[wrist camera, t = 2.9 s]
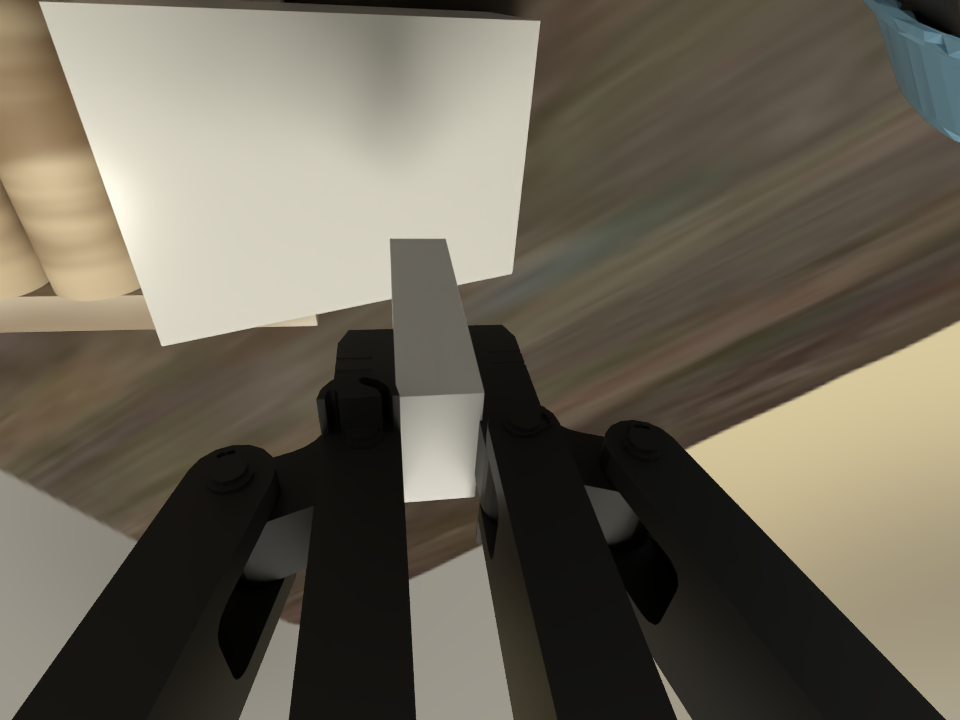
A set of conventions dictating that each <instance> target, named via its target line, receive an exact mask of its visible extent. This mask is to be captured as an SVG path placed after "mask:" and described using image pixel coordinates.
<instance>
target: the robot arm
mask: <svg viewBox="0 0 960 720" xmlns="http://www.w3.org/2000/svg"><path fill="white" fill-rule="evenodd" d="M864 2H865V3H866V5H867V6H868V7H870V8H871V9H872V10H873V11H874V12H875V14H876V17H877V21H878V24H879V27H880V30H881V33H882V36H883V39H884V43H885V46H886V49H887V52H888V55H889V58H890V61H891V65H892V68H893V71H894V74H895V77H896V80H897V83H898V85H899V87H900V89H901V91H902V93H903V95H904V96H905V98H906V99H907V101H908V102H909V103H910V105H911V106H912V107H913V108H914V110H915V111H916V112H917V113H918V114H919V115H920V116H921V117H922V118H923V119H924V120H925V121H926V122H928V123H929V124H930V125H932V126H933V127H934V128H936V129H937V130H938V131H939V132H941V133H943V134H944V135H946V136H948V137H949V138H951V139H953V140H955V141H958V142H960V0H864ZM390 260H391V290H392V319H393V329H377V330H349V331H348V332H347V333H346V334H345V336H344V337H343V338H342V339H341V340H340V342H339V343H338V348H337V357H336V366H335V376H334V380H332V381H330V382H329V383H328V384H327V385H325V386H324V387H323V388H322V389H321V390H320V392H319V395H318V397H317V399H316V400H317V407H318V414H319V421H320V427H321V434H322V435H321V436H320V437H318V438H317V439H316V440H315V441H314V442H312V443H310V444H309V445H307V446H306V447H304V448H301V449H298V450H296V451H293V452H290V453H287V454H283V455H280V456H277V457H274V458H273V457H272V456H271V455H270V454H269V453H267V452H266V451H265V450H264V449H262V448H259V447H255V446H252V445H232V446H228V447H225V448H221V449H218V450H215V451H213V452H211V453H210V454H208V455H206V456H204V457H202V458H201V459H199V460H198V461H197V462H196V463H195V464H194V465H193V466H192V467H191V468H190V469H189V470H188V472H187V473H186V475H185V476H184V477H183V479H182V480H181V482H180V483H179V484H178V486H177V487H176V489H175V490H174V492H173V493H172V494H171V496H170V497H169V499H168V500H167V501H166V503H165V504H164V506H163V507H162V508H161V510H160V511H159V513H158V514H157V516H156V517H155V518H154V520H153V521H152V523H151V524H150V525H149V527H148V528H147V530H146V531H145V532H144V534H143V535H142V537H141V538H140V540H139V541H138V542H137V544H136V545H135V547H134V548H133V550H132V551H131V552H130V554H129V555H128V557H127V558H126V559H125V561H124V562H123V564H122V565H121V566H120V568H119V569H118V571H117V572H116V573H115V575H114V576H113V578H112V579H111V580H110V582H109V584H108V585H107V586H106V587H105V589H104V590H103V592H102V593H101V595H100V596H99V597H98V599H97V600H96V602H95V603H94V604H93V606H92V607H91V609H90V610H89V611H88V613H87V615H86V616H85V617H84V619H83V620H82V621H81V623H80V624H79V626H78V627H77V628H76V630H75V631H74V633H73V634H72V635H71V637H70V638H69V640H68V641H67V643H66V644H65V646H64V647H63V648H62V650H61V651H60V653H59V654H58V655H57V657H56V658H55V660H54V661H53V662H52V664H51V665H50V667H49V668H48V669H47V671H46V672H45V674H44V675H43V676H42V678H41V679H40V681H39V682H38V684H37V685H36V686H35V688H34V689H33V691H32V692H31V693H30V695H29V696H28V698H27V699H26V700H25V702H24V703H23V705H22V706H21V707H20V709H19V710H18V712H17V713H16V714H15V716H14V717H13V719H12V720H239V717H240V715H241V712H242V710H243V707H244V705H245V702H246V700H247V697H248V695H249V692H250V690H251V688H252V685H253V683H254V680H255V677H256V675H257V672H258V670H259V668H260V665H261V663H262V660H263V658H264V655H265V652H266V650H267V647H268V645H269V643H270V640H271V638H272V635H273V633H274V630H275V628H276V625H277V623H278V620H279V618H280V615H281V613H282V610H283V608H284V605H285V603H286V600H287V598H288V595H289V593H290V590H291V588H292V585H293V583H294V580H295V578H296V573H297V572H299V571H302V570H304V569H306V577H305V586H304V594H303V603H302V612H301V620H300V629H299V638H298V646H297V654H296V664H295V671H294V680H293V689H292V697H291V706H290V714H289V720H416V709H415V692H414V672H413V653H412V635H411V616H410V597H409V577H408V558H407V540H406V521H405V502H416V501H429V500H441V499H454V498H466V497H475V488H476V484H477V489H478V494H479V500H480V502H479V512H478V521H477V531H476V544H481V540H482V544H483V550H484V556H485V561H486V567H487V572H488V578H489V584H490V589H491V595H492V600H493V606H494V611H495V617H496V623H497V628H498V634H499V640H500V645H501V651H502V656H503V662H504V668H505V673H506V679H507V684H508V690H509V696H510V701H511V706H512V712H513V718H514V720H677V718H676V715H675V713H674V710H673V708H672V705H671V703H670V700H669V698H668V695H667V693H666V690H665V688H664V685H663V683H662V680H661V678H660V675H659V673H658V670H657V668H656V665H655V662H656V663H657V665H658V666H659V668H660V669H661V671H662V673H663V674H664V676H665V677H666V679H667V680H668V682H669V684H670V685H671V687H672V688H673V690H674V691H675V693H676V695H677V696H678V698H679V699H680V701H681V702H682V704H683V705H684V707H685V709H686V710H687V712H688V714H689V715H690V717H691V718H692V720H946V719H945V718H944V717H943V716H942V715H941V714H940V713H939V712H938V711H937V710H936V709H935V708H934V707H933V706H932V705H931V704H930V703H929V702H928V701H927V700H926V699H925V698H924V697H923V696H922V695H921V694H920V692H919V691H918V690H917V689H916V688H915V687H913V685H912V684H911V683H910V682H909V681H908V680H907V679H906V678H905V677H904V676H903V675H902V674H901V673H900V672H899V671H898V670H897V669H896V668H895V667H894V666H893V665H892V664H891V663H890V661H888V659H887V658H886V657H885V656H883V654H882V653H881V652H880V651H879V650H878V649H877V648H876V647H875V646H874V645H873V644H872V643H871V642H870V641H869V640H868V639H867V638H866V637H865V636H864V635H863V634H862V633H861V632H860V631H859V630H858V628H857V627H856V626H855V625H854V624H853V623H852V622H851V621H850V620H849V619H848V618H847V617H846V616H845V615H844V614H843V613H842V612H841V611H840V610H839V609H838V608H837V607H836V606H835V605H834V604H833V603H832V602H831V601H830V600H829V599H828V598H827V596H826V595H825V594H824V593H823V592H822V591H821V590H820V589H819V588H818V587H817V586H816V585H815V584H814V583H813V582H812V581H811V580H810V579H809V578H808V577H807V576H806V575H805V574H804V573H803V572H802V571H801V570H800V569H799V568H798V567H797V565H796V564H795V563H794V562H793V561H792V560H791V559H790V558H789V557H788V556H787V555H786V554H785V553H784V552H783V551H782V550H781V549H780V548H779V547H778V546H777V545H776V544H775V543H774V542H773V541H772V540H771V539H770V538H769V536H767V534H766V533H765V532H763V530H762V529H761V528H760V527H759V526H758V525H757V524H756V523H755V522H754V521H753V520H752V519H751V518H750V517H749V516H748V515H747V514H746V513H745V512H744V511H743V510H742V509H741V508H740V507H739V505H738V504H736V503H735V501H734V500H733V499H732V498H731V497H730V496H729V495H728V494H727V493H726V492H725V491H724V490H723V489H722V488H721V487H720V486H719V485H718V484H717V483H716V482H715V481H714V480H713V479H712V478H711V477H710V476H709V474H708V473H706V472H705V470H704V469H703V468H702V467H701V466H700V465H699V464H698V463H697V462H696V461H695V460H694V459H693V458H692V457H691V456H690V455H689V454H688V453H687V452H686V451H685V450H684V449H683V448H682V447H681V446H680V445H679V444H678V442H677V441H676V440H675V439H674V438H673V437H671V436H670V435H669V434H668V433H666V432H665V431H664V430H662V429H661V428H659V427H657V426H654V425H652V424H650V423H647V422H642V421H636V420H629V421H620V422H618V423H616V424H614V425H612V426H610V428H609V429H608V431H607V432H606V434H605V437H603V436H597V435H592V434H586V433H581V432H577V431H573V430H569V429H567V428H565V427H563V426H560V423H559V421H558V420H557V418H556V417H555V416H554V414H553V413H552V412H550V411H549V410H547V409H546V408H545V407H543V406H541V405H540V402H539V400H538V397H537V394H536V392H535V389H534V386H533V384H532V381H531V378H530V376H529V373H528V370H527V368H526V365H524V360H523V357H522V354H521V353H520V349H519V346H518V344H517V341H516V338H515V336H514V335H513V334H511V333H510V332H509V331H508V330H507V329H506V328H505V327H504V326H503V325H475V326H468V325H467V321H466V317H465V313H464V309H463V305H462V301H461V297H460V293H459V289H458V285H457V281H456V278H455V274H454V270H453V266H452V262H451V258H450V254H449V250H448V246H447V242H446V239H390ZM653 658H654V660H655V662H654V660H653Z"/></svg>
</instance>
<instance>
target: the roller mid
mask: <svg viewBox="0 0 960 720" xmlns="http://www.w3.org/2000/svg"><path fill="white" fill-rule="evenodd" d="M39 1H40V0H0V179H1V181H2V183H3V185H4V188H5V190H6V192H7V194H8V196H9V198H10V200H11V202H12V204H13V206H14V209H15V211H16V213H17V215H18V217H19V219H20V221H21V223H22V225H23V227H24V229H25V232H26V234H27V236H28V238H29V240H30V242H31V244H32V246H33V248H34V250H35V252H36V255H37V257H38V259H39V261H40V263H41V265H42V267H43V269H44V271H45V273H46V275H47V278H48V280H49V282H50V284H51V286H52V288H53V290H54V292H55V294H56V295H58V296H59V297H61V298H64V299H67V300H73V301H96V300H104V299H109V298H114V297H118V296H121V295H125V294H128V293H130V292H133V291H135V290H137V289H139V288H141V286H140V284H139V281H138V278H137V275H136V272H135V270H134V267H133V264H132V261H131V258H130V256H129V253H128V250H127V247H126V244H125V242H124V239H123V236H122V233H121V230H120V228H119V225H118V222H117V219H116V216H115V214H114V211H113V208H112V205H111V202H110V200H109V197H108V194H107V191H106V188H105V186H104V183H103V180H102V177H101V174H100V172H99V169H98V166H97V163H96V160H95V158H94V155H93V152H92V149H91V146H90V144H89V141H88V138H87V135H86V132H85V130H84V127H83V124H82V121H81V118H80V116H79V113H78V110H77V107H76V104H75V102H74V99H73V96H72V93H71V90H70V88H69V85H68V82H67V79H66V76H65V74H64V71H63V68H62V65H61V62H60V60H59V57H58V54H57V51H56V48H55V46H54V43H53V40H52V37H51V34H50V32H49V29H48V26H47V23H46V20H45V18H44V15H43V12H42V9H41V6H40V4H39Z"/></svg>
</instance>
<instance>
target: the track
mask: <svg viewBox="0 0 960 720" xmlns="http://www.w3.org/2000/svg"><path fill="white" fill-rule="evenodd" d="M237 1H259V2H281V3H284V0H237ZM318 319H319V314H316V315H311V316H306V317H301V318H297V319H292V320H287V321H282V322H277V323H272V324H268V325H263V326H258V327H279V326H317V324H318ZM138 329H156V328H155V326H154V323H153V320H152V317H151V314H150V312H149V309H148V306H147V303H146V300H145V298H144V295H143V292H142V289H141V288H139V289H137V290H135V291H133V292H130V293H128V294H125V295H121V296H118V297H114V298H109V299H104V300H96V301H73V300H67V299H64V298H61V297H59V296H58V295H56V294H55V292H54V290H53V288H52V286H51V284H50V282H48V283H47V284H45V285H44V286H42V287H40V288H39V289H37V290H34V291H32V292H30V293H27V294H25V295H22V296H19V297H15V298H11V299H7V300H3V301H0V332H45V331H91V330H138Z"/></svg>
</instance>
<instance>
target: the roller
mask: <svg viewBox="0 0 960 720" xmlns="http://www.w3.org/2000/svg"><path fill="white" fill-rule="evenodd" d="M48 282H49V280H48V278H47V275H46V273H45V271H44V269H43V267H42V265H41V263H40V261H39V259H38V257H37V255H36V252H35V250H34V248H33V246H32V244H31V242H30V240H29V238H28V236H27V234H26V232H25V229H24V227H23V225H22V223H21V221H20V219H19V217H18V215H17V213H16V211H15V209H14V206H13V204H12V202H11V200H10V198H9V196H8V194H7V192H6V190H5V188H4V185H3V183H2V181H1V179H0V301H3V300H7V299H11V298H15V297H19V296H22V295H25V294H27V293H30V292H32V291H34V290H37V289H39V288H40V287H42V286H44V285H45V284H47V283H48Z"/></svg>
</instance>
